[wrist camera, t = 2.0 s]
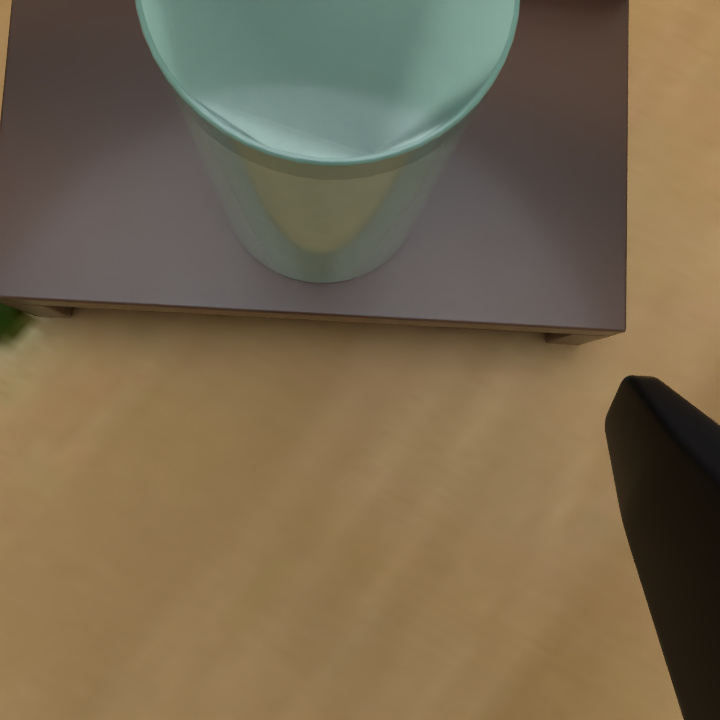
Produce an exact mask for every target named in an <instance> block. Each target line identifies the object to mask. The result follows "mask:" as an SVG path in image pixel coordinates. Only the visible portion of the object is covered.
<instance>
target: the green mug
mask: <svg viewBox="0 0 720 720" xmlns="http://www.w3.org/2000/svg"><path fill="white" fill-rule="evenodd" d="M135 6H136V12H137V15H138V19H139V23H140V26H141V30H142V33H143V36H144V38H145V41H146V43H147V45H148V47H149V50H150V52H151V54H152V57H153V59H154V61H155V64H156V66H157V68H158V70H159V73H160V75H161V77H162V79H163V80H164V82H165V84H166V85H167V87H168V89H169V90H170V92H171V94H172V95H173V97H174V99H175V102H176V104H177V106H178V109H179V111H180V113H181V116H182V118H183V120H184V123H185V125H186V127H187V129H188V132H189V134H190V136H191V139H192V141H193V143H194V146H195V148H196V150H197V153H198V155H199V157H200V160H201V162H202V164H203V167H204V169H205V171H206V174H207V176H208V178H209V181H210V183H211V185H212V188H213V190H214V192H215V194H216V197H217V199H218V201H219V204H220V206H221V208H222V211H223V213H224V215H225V218H226V220H227V222H228V225H229V227H230V229H231V230H232V232H233V234H234V235H235V237H236V238H237V240H238V241H239V242H240V243H241V245H242V246H243V247H244V248H245V250H246V251H248V252H249V253H250V254H251V255H252V256H253V257H254V258H255V259H256V260H258V261H259V262H260V263H262V264H263V265H264V266H266V267H268V268H269V269H271V270H273V271H275V272H277V273H279V274H281V275H284V276H286V277H289V278H292V279H296V280H300V281H304V282H312V283H334V282H341V281H346V280H350V279H354V278H357V277H359V276H362V275H364V274H367V273H369V272H371V271H372V270H374V269H376V268H378V267H379V266H381V265H382V264H383V263H385V262H386V261H387V260H389V259H390V258H391V257H392V256H393V255H394V254H395V253H396V252H397V251H398V250H399V249H400V248H401V246H402V245H403V244H404V242H405V241H406V240H407V238H408V237H409V235H410V233H411V231H412V229H413V228H414V226H415V224H416V222H417V220H418V218H419V216H420V215H421V213H422V211H423V209H424V207H425V205H426V203H427V201H428V200H429V198H430V196H431V194H432V192H433V190H434V188H435V186H436V185H437V183H438V181H439V179H440V177H441V175H442V173H443V172H444V170H445V168H446V166H447V164H448V162H449V160H450V158H451V157H452V155H453V153H454V151H455V149H456V147H457V145H458V143H459V142H460V140H461V138H462V136H463V134H464V132H465V130H466V128H467V127H468V125H469V123H470V121H471V119H472V117H473V115H474V114H475V113H476V111H477V110H478V109H479V107H480V106H481V105H482V104H483V102H484V101H485V99H486V97H487V95H488V93H489V92H490V90H491V88H492V86H493V84H494V83H495V81H496V79H497V77H498V75H499V73H500V72H501V70H502V68H503V66H504V64H505V62H506V59H507V57H508V54H509V52H510V49H511V46H512V44H513V41H514V37H515V32H516V28H517V24H518V20H519V10H520V0H135Z"/></svg>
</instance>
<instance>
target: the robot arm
mask: <svg viewBox="0 0 720 720" xmlns="http://www.w3.org/2000/svg"><path fill="white" fill-rule="evenodd" d="M605 433H606V438H607V444H608V449H609V454H610V460H611V465H612V470H613V476H614V481H615V486H616V492H617V497H618V502H619V508H620V512H621V517H622V521H623V525H624V529H625V532H626V536H627V539H628V543H629V546H630V549H631V552H632V555H633V559H634V562H635V565H636V568H637V571H638V575H639V578H640V581H641V584H642V587H643V591H644V594H645V597H646V600H647V603H648V607H649V610H650V613H651V616H652V619H653V623H654V626H655V629H656V632H657V635H658V639H659V642H660V645H661V648H662V651H663V655H664V658H665V661H666V664H667V667H668V671H669V674H670V677H671V680H672V683H673V687H674V690H675V693H676V696H677V699H678V703H679V706H680V709H681V712H682V715H683V719H684V720H720V425H718V424H717V423H716V422H714V421H713V420H712V419H710V418H709V417H708V416H706V415H705V414H704V413H703V412H701V411H700V410H699V409H697V408H696V407H695V406H693V405H692V404H691V403H689V402H688V401H687V400H685V399H684V398H683V397H682V396H680V395H679V394H678V393H676V392H675V391H674V390H672V389H671V388H670V387H668V386H667V385H666V384H664V383H663V382H662V381H661V380H659V379H658V378H655V377H651V376H634V375H631V376H627V377H626V378H624V379H623V381H622V382H621V384H620V386H619V388H618V391H617V393H616V395H615V397H614V400H613V402H612V404H611V406H610V408H609V411H608V413H607V416H606V420H605Z"/></svg>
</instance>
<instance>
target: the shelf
mask: <svg viewBox="0 0 720 720" xmlns="http://www.w3.org/2000/svg"><path fill="white" fill-rule="evenodd" d="M628 18H629V0H520V10H519V20H518V24H517V28H516V32H515V37H514V41H513V44H512V46H511V49H510V52H509V54H508V57H507V59H506V62H505V64H504V66H503V68H502V70H501V72H500V73H499V75H498V77H497V79H496V81H495V83H494V84H493V86H492V88H491V90H490V92H489V93H488V95H487V97H486V99H485V101H484V102H483V104H482V105H481V106H480V107H479V109H478V110H477V111H476V113H475V114H474V115H473V117H472V119H471V121H470V123H469V125H468V127H467V128H466V130H465V132H464V134H463V136H462V138H461V140H460V142H459V143H458V145H457V147H456V149H455V151H454V153H453V155H452V157H451V158H450V160H449V162H448V164H447V166H446V168H445V170H444V172H443V173H442V175H441V177H440V179H439V181H438V183H437V185H436V186H435V188H434V190H433V192H432V194H431V196H430V198H429V200H428V201H427V203H426V205H425V207H424V209H423V211H422V213H421V215H420V216H419V218H418V220H417V222H416V224H415V226H414V228H413V229H412V231H411V233H410V235H409V237H408V238H407V240H406V241H405V242H404V244H403V245H402V246H401V248H400V249H399V250H398V251H397V252H396V253H395V254H394V255H393V256H392V257H391V258H390V259H389V260H387V261H386V262H385V263H383V264H382V265H381V266H379V267H378V268H376V269H374V270H372V271H371V272H369V273H367V274H364V275H362V276H359V277H357V278H354V279H350V280H346V281H341V282H334V283H312V282H304V281H300V280H296V279H292V278H289V277H286V276H284V275H281V274H279V273H277V272H275V271H273V270H271V269H269V268H268V267H266V266H264V265H263V264H262V263H260V262H259V261H258V260H256V259H255V258H254V257H253V256H252V255H251V254H250V253H249V252H248V251H246V250H245V248H244V247H243V246H242V245H241V243H240V242H239V241H238V240H237V238H236V237H235V235H234V234H233V232H232V230H231V229H230V227H229V225H228V222H227V220H226V218H225V215H224V213H223V211H222V208H221V206H220V204H219V201H218V199H217V197H216V194H215V192H214V190H213V188H212V185H211V183H210V181H209V178H208V176H207V174H206V171H205V169H204V167H203V164H202V162H201V160H200V157H199V155H198V153H197V150H196V148H195V146H194V143H193V141H192V139H191V136H190V134H189V132H188V129H187V127H186V125H185V123H184V120H183V118H182V116H181V113H180V111H179V109H178V106H177V104H176V102H175V99H174V97H173V95H172V94H171V92H170V90H169V89H168V87H167V85H166V84H165V82H164V80H163V79H162V77H161V75H160V73H159V70H158V68H157V66H156V64H155V61H154V59H153V57H152V54H151V52H150V50H149V47H148V45H147V43H146V41H145V38H144V36H143V33H142V30H141V26H140V23H139V19H138V15H137V12H136V6H135V0H12V6H11V17H10V27H9V38H8V48H7V59H6V69H5V80H4V90H3V101H2V111H1V122H0V303H3V304H5V305H8V306H10V307H13V308H16V309H19V310H21V311H24V312H27V313H29V314H32V315H35V316H47V317H66V318H69V317H71V315H72V307H82V308H101V309H120V310H138V311H157V312H175V313H194V314H212V315H231V316H250V317H268V318H287V319H305V320H324V321H342V322H361V323H380V324H398V325H417V326H435V327H454V328H472V329H491V330H510V331H528V332H547V337H546V341H547V343H556V344H575V345H580V344H584V343H587V342H591V341H595V340H598V339H602V338H605V337H609V336H612V335H615V334H619V333H623V332H625V330H626V260H627V139H628Z"/></svg>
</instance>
